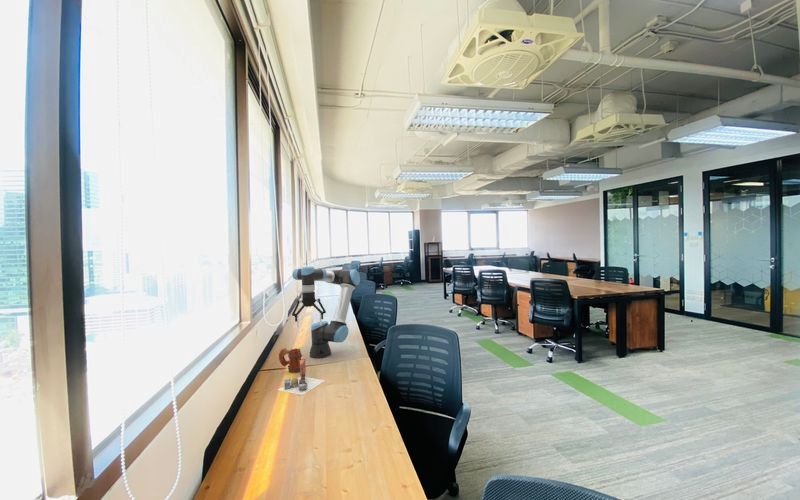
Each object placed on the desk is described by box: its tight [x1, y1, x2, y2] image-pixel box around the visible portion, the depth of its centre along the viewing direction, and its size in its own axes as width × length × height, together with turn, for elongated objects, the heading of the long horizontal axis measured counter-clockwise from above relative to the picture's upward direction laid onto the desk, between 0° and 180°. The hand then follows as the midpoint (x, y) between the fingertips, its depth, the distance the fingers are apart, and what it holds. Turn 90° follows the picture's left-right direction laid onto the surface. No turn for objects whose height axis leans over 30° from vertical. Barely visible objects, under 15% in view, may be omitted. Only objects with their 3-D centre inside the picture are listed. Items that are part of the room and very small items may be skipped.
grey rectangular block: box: [283, 378, 292, 390], centre depth 176 cm, size 5×3×4 cm, turn 17°
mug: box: [278, 347, 303, 374], centre depth 200 cm, size 15×8×15 cm, turn 84°
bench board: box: [277, 376, 326, 396], centre depth 179 cm, size 19×17×2 cm
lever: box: [299, 358, 307, 390], centre depth 179 cm, size 18×4×10 cm, turn 16°
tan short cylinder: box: [291, 378, 298, 388], centre depth 177 cm, size 4×4×4 cm
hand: (309, 325), depth 200 cm, fingers open, 13 cm apart
